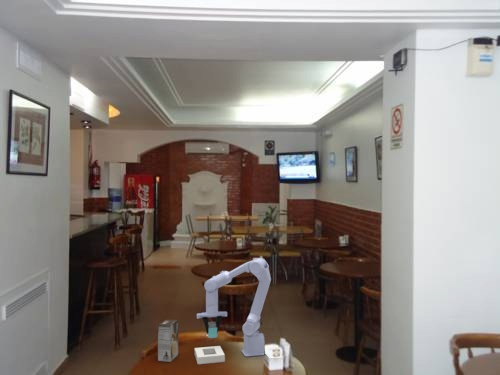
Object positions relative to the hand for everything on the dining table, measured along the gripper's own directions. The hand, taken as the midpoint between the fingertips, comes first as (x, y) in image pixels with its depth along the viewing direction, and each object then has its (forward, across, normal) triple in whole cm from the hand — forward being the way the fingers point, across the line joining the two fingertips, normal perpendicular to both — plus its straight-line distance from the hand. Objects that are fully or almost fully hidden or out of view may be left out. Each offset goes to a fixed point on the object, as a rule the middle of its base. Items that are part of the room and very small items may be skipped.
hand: (212, 332), depth 208 cm
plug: (+2, 0, 0) cm, 2 cm away
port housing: (+8, +3, +11) cm, 14 cm away
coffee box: (+8, +21, +6) cm, 23 cm away
